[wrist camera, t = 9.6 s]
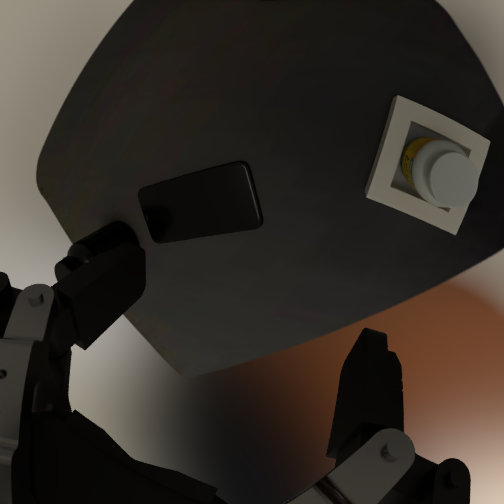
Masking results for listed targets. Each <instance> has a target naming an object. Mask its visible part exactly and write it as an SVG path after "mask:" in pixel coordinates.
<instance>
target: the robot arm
mask: <svg viewBox="0 0 504 504" xmlns="http://www.w3.org/2000/svg"><path fill="white" fill-rule="evenodd" d="M145 286H146V258H145V250H144V249H143V248H140V247H138V246H135V245H133V244H130V243H128V242H124V243H122V244H121V245H119V246H118V247H116V248H115V249H113V250H110V251H106V252H103V253H100V254H98V255H96V256H95V257H93V258H92V259H90V260H89V261H88V262H86V263H84V264H83V265H81V267H80V268H77V269H76V270H74V271H73V272H71V273H70V274H68V275H67V276H66V277H64V278H63V279H61V280H60V281H58V282H57V283H56V284H54V285H53V286H51V287H50V286H48V285H45V284H34V285H31V286H28V287H26V288H25V289H24V290H20V289H17V288H14V287H11V284H10V281H9V278H8V275H7V274H5V273H3V272H0V504H228V503H226V502H225V501H224V500H223V499H221V498H220V497H218V496H217V495H215V493H216V491H217V489H218V488H216V487H213V486H211V485H208V484H206V483H203V482H201V481H198V480H196V479H194V478H191V477H189V476H187V475H185V474H182V473H180V472H178V471H174V470H170V469H165V468H162V467H158V466H154V465H151V464H147V463H144V462H140V461H137V460H135V459H133V458H131V457H130V456H129V455H128V454H127V453H126V452H125V451H124V450H123V449H122V448H121V447H120V446H119V445H118V444H117V443H116V442H115V441H114V440H113V439H112V438H111V437H110V436H109V435H108V434H107V433H106V432H105V430H103V429H102V428H100V427H99V426H97V425H96V424H95V423H93V422H92V421H90V420H89V419H87V418H86V417H85V416H83V415H82V414H80V413H79V412H78V411H77V410H74V411H73V412H72V410H71V406H70V402H69V396H68V390H69V376H70V365H71V364H70V363H71V355H72V351H71V347H72V346H73V345H74V344H76V345H78V346H79V347H81V348H82V349H84V350H86V349H87V348H88V347H89V346H90V345H91V344H92V343H93V342H94V341H95V340H96V339H97V338H98V337H99V336H100V335H101V334H102V333H104V331H106V330H107V328H109V327H110V326H111V325H112V324H113V323H114V322H115V321H116V320H117V319H118V318H119V317H120V316H121V315H122V314H123V313H124V312H125V311H127V310H128V309H129V308H130V307H131V306H132V305H133V304H134V303H135V302H136V301H137V300H138V299H139V298H140V297H141V296H142V294H143V292H144V290H145ZM401 380H402V368H401V364H400V362H399V359H398V357H397V355H396V353H395V352H391V351H388V345H387V335H386V334H385V333H382V332H378V331H375V330H372V329H369V328H364V329H363V330H362V332H361V334H360V336H359V337H358V340H357V341H356V342H355V344H354V346H353V348H352V349H351V351H350V353H349V354H348V356H347V358H346V360H345V362H344V364H343V367H342V370H341V374H340V381H339V388H338V394H337V401H336V406H335V412H334V418H333V423H332V429H331V434H330V439H329V444H328V449H327V453H326V457H330V458H335V459H336V463H335V468H334V469H333V470H331V471H330V472H329V473H327V474H326V475H325V476H323V477H322V478H321V479H319V480H318V481H316V482H315V483H314V484H312V485H311V486H309V487H308V488H307V489H306V490H304V491H302V492H301V493H299V494H298V495H296V496H295V497H293V498H292V499H290V500H289V501H287V502H285V503H284V504H470V481H471V479H470V473H469V470H468V468H467V466H466V465H465V464H464V463H463V462H462V461H460V460H458V459H455V458H450V459H446V460H444V461H443V462H441V463H440V464H436V463H434V462H431V461H429V460H427V459H425V458H423V457H421V456H419V455H417V454H416V453H415V448H414V445H413V443H412V441H411V440H410V438H409V437H408V436H407V435H406V434H405V433H404V412H403V411H404V408H403V391H402V389H403V383H402V381H401Z"/></svg>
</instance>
